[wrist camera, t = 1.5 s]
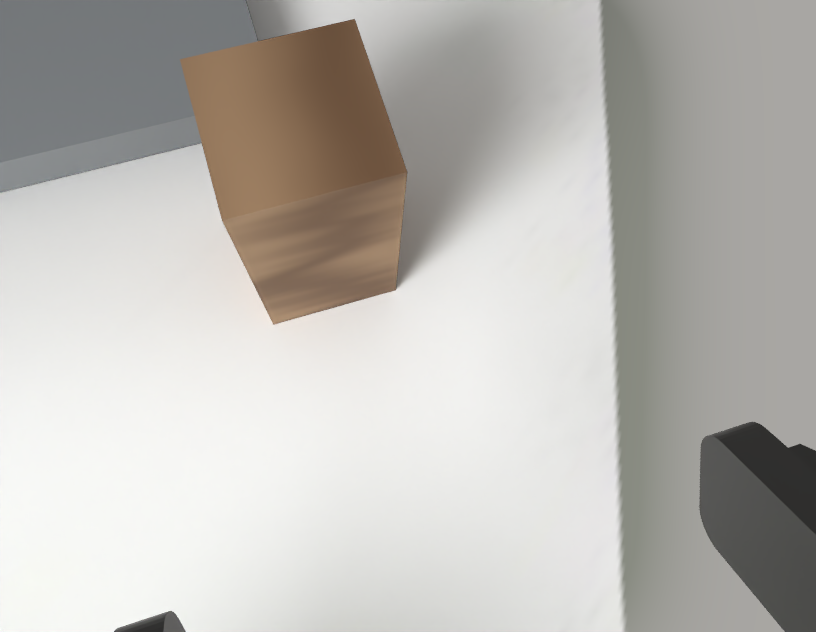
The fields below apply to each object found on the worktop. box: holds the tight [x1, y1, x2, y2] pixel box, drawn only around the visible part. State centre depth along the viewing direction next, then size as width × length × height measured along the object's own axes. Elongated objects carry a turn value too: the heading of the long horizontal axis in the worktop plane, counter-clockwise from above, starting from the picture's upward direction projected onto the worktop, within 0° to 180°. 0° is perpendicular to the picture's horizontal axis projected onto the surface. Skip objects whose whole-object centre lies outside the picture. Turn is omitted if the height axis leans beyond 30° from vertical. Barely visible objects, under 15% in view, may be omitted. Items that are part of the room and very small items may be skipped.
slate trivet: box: [0, 0, 258, 192], centre depth 30 cm, size 12×12×2 cm
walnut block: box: [180, 19, 407, 324], centre depth 24 cm, size 5×5×10 cm
